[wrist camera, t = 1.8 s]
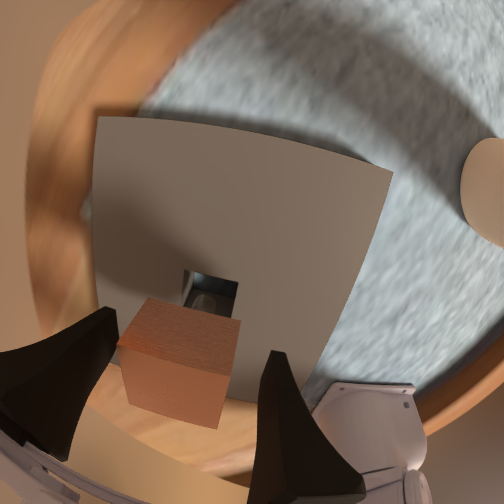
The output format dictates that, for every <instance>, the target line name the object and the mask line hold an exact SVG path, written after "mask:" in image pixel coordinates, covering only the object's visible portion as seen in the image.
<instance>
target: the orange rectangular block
mask: <svg viewBox="0 0 504 504" xmlns="http://www.w3.org/2000/svg"><path fill="white" fill-rule="evenodd" d="M215 309H216V301H215V300H214V299H213V298H212V297H211V296H209V295H205V294H202V295H199V296H197V297H196V299H195V301H194V303H193V305H192V308H191V309H190V308H186V307H182V306H179V305H175V304H171V303H167V302H164V301H160V300H157V299H153V298H150V297H148V298H147V299H146V301H145V302H144V304H143V305H142V307H141V308H140V309H139V311H138V312H137V314H136V315H135V317H134V318H133V320H132V321H131V323H130V324H129V326H128V327H127V328H126V330H125V331H124V333H123V334H122V336H121V337H120V339H119V340H118V342H117V343H116V345H117V351H118V356H119V362H120V367H121V371H122V376H123V381H124V385H125V389H126V394H127V398H128V401H129V404H131V405H134V406H137V407H139V408H142V409H145V410H148V411H151V412H154V413H157V414H160V415H163V416H167V417H170V418H173V419H177V420H180V421H184V422H188V423H192V424H195V425H200V426H204V427H208V428H212V429H217V428H218V424H219V420H220V416H221V412H222V408H223V405H224V401H225V397H226V393H227V389H228V385H229V381H230V377H231V372H232V367H233V362H234V357H235V352H236V346H237V341H238V336H239V331H240V326H241V320H236V319H232V318H227V317H223V316H219V315H214V312H215Z"/></svg>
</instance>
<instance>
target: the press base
mask: <svg viewBox="0 0 504 504" xmlns="http://www.w3.org/2000/svg"><path fill="white" fill-rule="evenodd" d="M392 176H393V172H392V171H389V170H386V169H384V168H381V167H378V166H376V165H373V164H370V163H367V162H364V161H361V160H358V159H355V158H352V157H349V156H345V155H342V154H339V153H335V152H332V151H329V150H325V149H322V148H318V147H314V146H311V145H307V144H303V143H299V142H295V141H291V140H287V139H283V138H278V137H274V136H269V135H264V134H260V133H255V132H250V131H244V130H239V129H233V128H227V127H221V126H215V125H208V124H201V123H193V122H185V121H176V120H165V119H153V118H139V117H114V116H98V122H97V130H96V139H95V149H94V161H93V177H92V241H93V258H94V270H95V280H96V289H97V297H98V305H99V309H100V308H102V307H104V306H107V307H110V308H113V309H116V314H117V323H118V330H119V338H120V337H121V336H122V334H123V333H124V331H125V330H126V328H127V327H128V326H129V324H130V323H131V321H132V320H133V318H134V317H135V315H136V314H137V312H138V311H139V309H140V308H141V307H142V305H143V304H144V302H145V301H146V299H147V298H148V297H150V298H153V299H157V300H160V301H164V302H167V303H171V304H175V305H179V306H182V307H186V308H190V309H191V308H192V305H193V303H194V301H195V299H196V297H197V296H199V295H202V294H205V295H209V296H211V297H212V298H213V299H214V300H215V301H216V309H215V312H214V315H219V316H223V317H227V318H232V319H236V320H241V326H240V331H239V336H238V341H237V346H236V352H235V357H234V362H233V367H232V372H231V377H230V381H229V385H228V389H227V393H226V397H227V398H232V399H237V400H242V401H247V402H253V403H258V393H259V386H260V379H261V376H262V373H263V371H264V368H265V365H266V363H267V360H268V357H269V354H270V352H271V350H275V351H281V352H285V353H286V354H287V358H288V361H289V364H290V367H291V370H292V373H293V376H294V379H295V381H296V384H297V386H298V388H299V391H300V392H301V390H302V389H303V387H304V385H305V383H306V382H307V380H308V378H309V376H310V375H311V373H312V371H313V369H314V367H315V365H316V363H317V362H318V360H319V358H320V356H321V354H322V352H323V350H324V348H325V346H326V344H327V342H328V340H329V338H330V336H331V334H332V332H333V330H334V328H335V326H336V324H337V322H338V319H339V317H340V315H341V313H342V311H343V309H344V306H345V304H346V302H347V300H348V297H349V295H350V293H351V291H352V288H353V286H354V283H355V281H356V279H357V276H358V274H359V271H360V269H361V266H362V264H363V261H364V259H365V256H366V254H367V251H368V248H369V246H370V243H371V240H372V237H373V235H374V232H375V229H376V226H377V223H378V220H379V217H380V214H381V211H382V208H383V205H384V202H385V199H386V196H387V193H388V189H389V186H390V183H391V179H392ZM195 272H197V273H201V274H205V275H210V276H214V277H218V278H223V279H227V280H231V281H236V282H239V283H238V288H237V293H236V298H231V297H227V296H223V295H218V294H214V293H210V292H206V291H202V290H198V289H194V288H193V282H194V273H195ZM110 363H113V364H116V365H118V366H120V362H119V356H118V351H117V348H116V351H115V353H114V355H113V357H112V359H111V360H110Z"/></svg>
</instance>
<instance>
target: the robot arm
mask: <svg viewBox="0 0 504 504" xmlns="http://www.w3.org/2000/svg"><path fill="white" fill-rule="evenodd" d="M119 339H120V338H119V330H118V323H117V314H116V309H113V308H110V307H107V306H104V307H102V308H100V309H99V310H97V311H95V312H94V313H92V314H90V315H89V316H87V317H85V318H84V319H82V320H80V321H78V322H77V323H75V324H73V325H72V326H70V327H68V328H66V329H64V330H62V331H60V332H59V333H57V334H55V335H53V336H51V337H49V338H46V339H44V340H42V341H39V342H37V343H34V344H31V345H28V346H25V347H22V348H19V349H15V350H10V351H6V352H0V479H1V480H2V481H3V482H5V483H6V484H7V485H8V486H9V487H10V488H11V489H12V490H13V491H15V492H16V493H17V494H18V495H19V496H20V497H22V498H23V499H24V500H23V502H22V504H79V503H78V501H79V499H80V494H78V493H76V492H74V491H73V490H71V489H70V488H68V487H67V486H65V485H64V484H63V483H61V482H60V481H58V480H56V479H55V478H54V477H52V476H51V475H49V474H48V471H47V470H49V471H50V472H52V473H53V474H55V475H57V476H58V477H60V478H61V479H63V480H65V481H67V482H68V483H70V484H72V485H74V486H76V487H78V488H79V489H81V490H83V491H85V492H87V493H89V494H91V495H93V496H95V497H97V498H99V499H101V500H104V501H106V502H108V503H111V504H150V503H147V502H144V501H141V500H138V499H135V498H133V497H130V496H127V495H125V494H122V493H120V492H117V491H115V490H113V489H110V488H108V487H106V486H104V485H101V484H99V483H97V482H95V481H93V480H91V479H89V478H87V477H85V476H83V475H81V474H79V473H77V472H75V471H74V470H72V469H70V468H68V467H67V466H65V465H63V464H61V463H60V462H58V461H56V460H54V459H53V458H52V457H50V456H48V455H47V454H49V455H51V456H53V457H54V458H56V459H57V460H59V461H61V462H64V461H67V460H68V456H69V452H70V447H71V443H72V439H73V436H74V432H75V429H76V426H77V424H78V421H79V418H80V416H81V413H82V410H83V408H84V406H85V403H86V401H87V399H88V397H89V395H90V393H91V391H92V389H93V388H94V386H95V385H96V383H97V381H98V380H99V378H100V376H101V375H102V373H103V372H104V370H105V369H106V367H107V365H108V364H109V362H110V360H111V359H112V357H113V355H114V353H115V351H116V348H117V345H116V343H117V342H118V340H119ZM415 390H416V388H415V386H394V385H367V384H352V383H340V382H336V383H333V384H332V385H331V386H330V388H329V389H328V391H327V392H326V394H325V395H324V397H323V398H322V399H321V401H320V402H319V404H318V405H317V407H316V408H315V410H314V411H313V412H312V414H311V413H310V411H309V409H308V407H307V405H306V404H305V402H304V399H303V397H302V395H301V393H300V391H299V388H298V386H297V384H296V381H295V379H294V376H293V373H292V370H291V367H290V364H289V361H288V358H287V354H286V353H285V352H281V351H275V350H271V352H270V354H269V357H268V360H267V363H266V365H265V368H264V371H263V373H262V376H261V379H260V386H259V393H258V411H257V444H256V453H255V460H254V466H253V473H252V479H251V484H250V490H249V495H248V500H247V504H432V499H431V494H430V490H429V487H428V484H427V481H426V478H425V476H424V475H423V473H422V472H419V471H417V470H418V469H419V467H420V466H421V465H422V463H423V461H424V459H425V455H426V449H427V441H426V436H425V432H424V429H423V426H422V423H421V420H420V417H419V414H418V411H417V408H416V405H415V402H414V400H413V397H412V394H413V393H414V392H415ZM42 451H44V452H45V453H47V454H45V453H44V452H42Z"/></svg>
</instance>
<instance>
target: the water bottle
mask: <svg viewBox="0 0 504 504" xmlns="http://www.w3.org/2000/svg"><path fill="white" fill-rule="evenodd" d="M460 196H461V204H462V209H463V212H464V215H465V218H466V220H467V222H468V223H469V225H470V226H471V227H472V229H473V230H474V231H475V232H477V233H478V234H479V235H481V236H482V237H483V238H485V239H486V240H488V241H490V242H491V243H493V244H495V245H497V246H499V247H501V248H503V249H504V139H499V138H487V139H484V140H482V141H480V142H479V143H477V144H476V145H475V146H474V147H473V149H472V150H471V151H470V153H469V155H468V157H467V159H466V161H465V164H464V167H463V171H462V175H461V183H460Z"/></svg>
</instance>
